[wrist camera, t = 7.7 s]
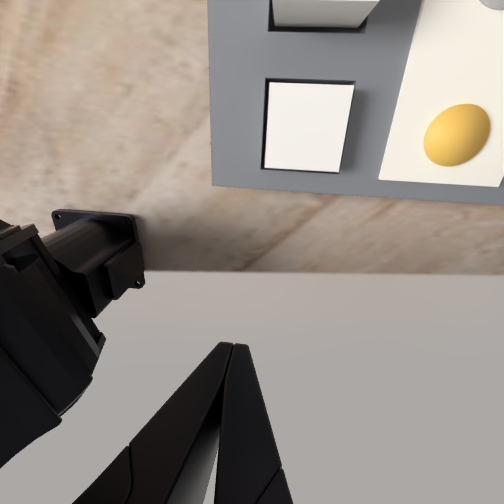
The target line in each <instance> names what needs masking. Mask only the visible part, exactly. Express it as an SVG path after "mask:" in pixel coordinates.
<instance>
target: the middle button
mask: <svg viewBox="0 0 504 504" xmlns="http://www.w3.org/2000/svg"><path fill="white" fill-rule="evenodd" d="M379 1H380V0H272V4H273V13H274V23H275V26H295V27H346V28H358V27H359V25H360V24H361V23H362V22H363V21H364V19H365V18H366V17H367V16H368V14H369V13H370V12H371V11H372V9H373V8H374V7H375V6H376V5H377V3H378V2H379Z"/></svg>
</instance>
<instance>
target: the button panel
mask: <svg viewBox="0 0 504 504" xmlns="http://www.w3.org/2000/svg"><path fill="white" fill-rule="evenodd" d="M207 4H208V44H209V83H210V123H211V162H212V186H221V187H236V188H251V189H266V190H281V191H296V192H311V193H326V194H342V195H357V196H372V197H387V198H402V199H417V200H432V201H447V202H462V203H477V204H492V205H504V0H380V1H379V2H378V3H377V5H376V6H375V7H374V8H373V9H372V11H371V12H370V13H369V14H368V16H367V17H366V18H365V19H364V21H363V22H362V23H361V24H360V25H359V27H358V28H346V27H295V26H275V23H274V13H273V4H272V0H207ZM270 82H273V83H301V84H329V85H354V89H353V95H352V100H351V106H350V111H349V117H348V123H347V128H346V134H345V139H344V145H343V150H342V156H341V162H340V167H339V172H329V171H312V170H295V169H279V168H265V153H266V136H267V120H268V103H269V86H270Z"/></svg>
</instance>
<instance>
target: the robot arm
mask: <svg viewBox="0 0 504 504" xmlns="http://www.w3.org/2000/svg"><path fill="white" fill-rule="evenodd" d="M58 214H59V215H60V216H61V218H60V217H59V215H58ZM51 215H52V219H53V222H54V226H55V229H56V232H53V233H51V234H49V235H47V236H45V237H43V238H40V237H39V235H38V234H37V233H39V231H38V230H37V228H36V227H35V225H34V224H30V225H26V226H22V227H20V226H19V225H17V226H14V225H10V224H8V223H6V222H4V221H2V220H0V468H1V467H2V466H3V465H4V464H6V463H7V462H8V461H9V460H10V459H11V458H12V457H14V456H15V454H17V453H18V452H20V451H21V450H22V449H24V448H25V447H26V446H27V445H29V444H30V443H31V442H33V441H34V440H35V439H37V438H38V437H40V436H42V435H43V434H45V433H47V432H48V431H50V430H52V429H53V428H55V427H57V426H58V425H59V424H60V423H61V422H62V418H61V417H60V416H62V415H63V414H64V413H65V412H66V411H67V410H68V409H70V408H71V407H72V406H73V405H74V404H75V403H76V402H77V401H78V399H79V398H80V397H81V396H82V394H83V393H84V392H85V390H86V389H87V388H88V386H89V385H90V383H91V381H92V379H93V377H92V373H93V371H94V368H95V366H96V363H97V361H98V358H99V356H100V353H101V350H102V348H103V346H104V343H105V341H106V338H105V336H104V334H103V333H102V332H100V331H99V330H98V328H97V327H96V325H95V323H94V322H93V320H92V319H91V318H96V317H97V316H98V315H99V314H100V313H101V312H102V311H103V309H104V308H105V307H106V306H107V305H108V304H109V303H110V302H111V301H112V300H117V299H119V298H120V297H121V296H122V294H123V293H124V292H125V291H126V290H127V289H128V288H137V289H140V288H142V287H143V286H144V284H145V279H144V270H145V269H144V262H143V256H142V250H141V244H140V242H139V241H138V234H137V228H136V222H135V219H134V217H133V216H131V215H128V214H116V213H103V212H90V211H77V210H64V209H58V210H55V211H53V212H52V214H51ZM126 219H127V220H128V221H129V222H130V224H129V223H127V222H126ZM137 281H138V282H139V283H140V284H139V283H137ZM218 446H219V449H218ZM217 450H218V461H217V473H216V484H215V496H214V504H293V501H292V498H291V495H290V491H289V488H288V484H287V481H286V478H285V474H284V470H283V469H282V464H281V460H280V457H279V453H278V449H277V446H276V442H275V439H274V435H273V432H272V428H271V425H270V421H269V418H268V414H267V411H266V407H265V403H264V400H263V396H262V392H261V389H260V385H259V382H258V378H257V375H256V371H255V368H254V364H253V360H252V357H251V353H250V350H249V346H248V345H246V344H238V343H236V344H235V345H233V343H229V342H220V343H218V344H217V346H216V347H215V348H214V349H213V350H212V351H211V352H210V353H209V354H208V356H207V357H206V358H205V359H204V360H203V361H202V362H201V363H200V365H199V366H198V367H197V368H196V369H195V370H194V371H193V372H192V373H191V375H190V376H189V377H188V378H187V379H186V380H185V381H184V382H183V384H182V385H181V386H180V387H179V388H178V389H177V391H175V392H174V394H173V395H172V396H171V397H170V398H169V399H168V400H167V401H166V403H165V404H164V405H163V406H162V407H161V408H160V409H159V411H157V413H156V414H155V415H154V416H153V417H152V418H151V419H150V420H149V422H148V423H147V424H146V425H145V426H144V427H143V428H142V429H141V431H140V432H139V433H138V434H137V435H136V436H135V437H134V438H133V439H132V441H131V442H130V443H129V446H126V447H125V448H124V449H123V451H122V452H121V453H120V454H119V455H118V456H117V457H116V458H115V459H114V461H113V462H112V463H111V464H110V465H109V466H108V467H107V468H106V469H105V470H104V471H103V472H102V474H101V475H100V476H99V477H98V478H97V479H96V480H95V481H94V482H93V483H92V484H91V485H90V486H89V487H88V488H87V489H86V490H85V491H84V492H83V493H82V494H81V495H80V496H79V497H78V498H77V499H76V500H75V501H74V502H73V503H72V504H203V501H204V498H205V494H206V490H207V487H208V483H209V479H210V475H211V472H212V468H213V465H214V461H215V457H216V454H217Z"/></svg>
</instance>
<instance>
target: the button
mask: <svg viewBox="0 0 504 504" xmlns="http://www.w3.org/2000/svg"><path fill="white" fill-rule="evenodd" d="M353 89H354V85H329V84H301V83H273V82H270V86H269V103H268V120H267V136H266V153H265V168H279V169H295V170H312V171H329V172H339V167H340V162H341V156H342V150H343V145H344V139H345V134H346V128H347V123H348V117H349V111H350V106H351V100H352V95H353Z"/></svg>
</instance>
